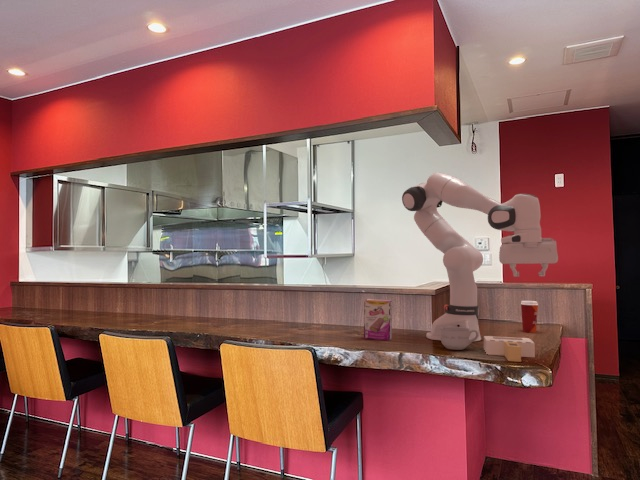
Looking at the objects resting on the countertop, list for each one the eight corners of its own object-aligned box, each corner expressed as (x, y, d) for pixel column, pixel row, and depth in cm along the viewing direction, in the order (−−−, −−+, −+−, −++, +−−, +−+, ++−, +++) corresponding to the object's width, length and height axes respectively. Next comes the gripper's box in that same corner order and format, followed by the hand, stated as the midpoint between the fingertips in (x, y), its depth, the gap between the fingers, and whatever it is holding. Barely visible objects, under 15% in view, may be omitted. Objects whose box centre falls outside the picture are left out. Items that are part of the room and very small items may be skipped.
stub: (508, 361, 152) (508, 345, 152) (504, 355, 160) (504, 341, 160) (521, 361, 151) (521, 346, 151) (516, 356, 159) (516, 341, 159)
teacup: (438, 350, 168) (438, 328, 168) (441, 344, 178) (441, 324, 178) (478, 353, 163) (478, 331, 163) (479, 347, 173) (479, 326, 173)
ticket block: (486, 354, 162) (486, 340, 162) (483, 349, 170) (483, 335, 171) (534, 357, 158) (534, 342, 158) (529, 351, 167) (529, 337, 167)
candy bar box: (363, 339, 187) (363, 299, 188) (366, 337, 192) (366, 298, 193) (390, 341, 184) (390, 301, 184) (392, 338, 189) (392, 299, 189)
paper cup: (540, 333, 204) (540, 302, 204) (522, 332, 205) (522, 302, 205) (535, 330, 211) (535, 300, 212) (518, 329, 213) (518, 300, 213)
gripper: (551, 238, 165) (552, 275, 165) (496, 238, 165) (497, 276, 164) (561, 237, 159) (562, 276, 158) (504, 237, 158) (505, 277, 158)
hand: (529, 276), depth 161 cm, fingers open, 8 cm apart
